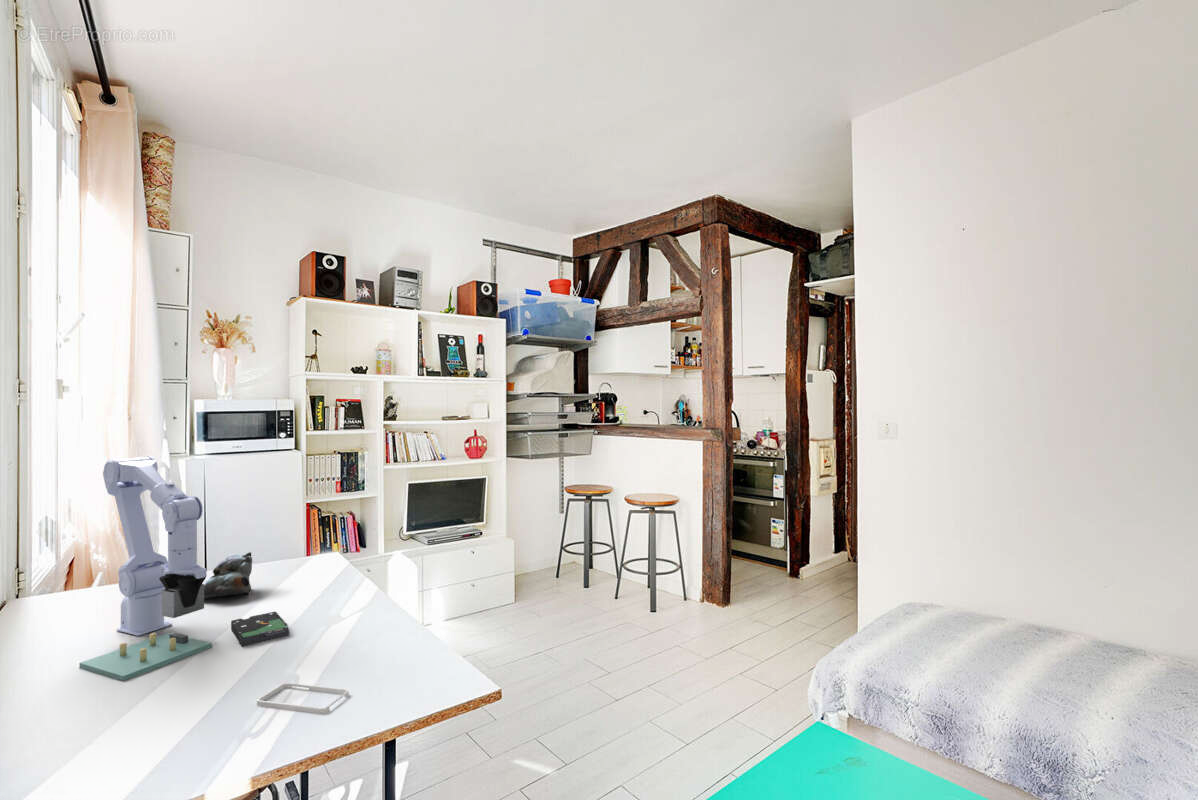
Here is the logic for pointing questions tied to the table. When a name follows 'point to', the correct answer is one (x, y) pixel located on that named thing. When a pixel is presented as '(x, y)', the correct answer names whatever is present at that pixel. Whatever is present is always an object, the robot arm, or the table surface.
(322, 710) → the phone case
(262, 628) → the disk drive
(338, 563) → the table surface
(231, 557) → the grey lumpy piece
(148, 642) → the teal peg board
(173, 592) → the dark grey block
